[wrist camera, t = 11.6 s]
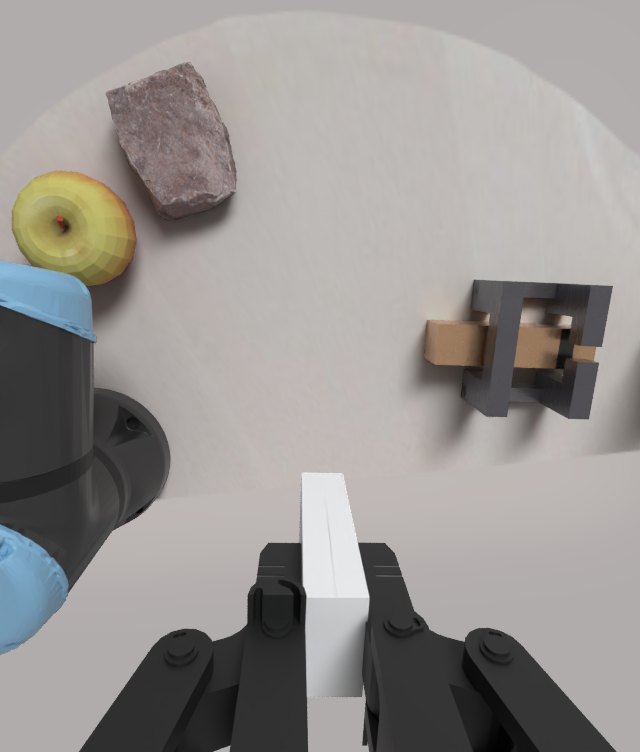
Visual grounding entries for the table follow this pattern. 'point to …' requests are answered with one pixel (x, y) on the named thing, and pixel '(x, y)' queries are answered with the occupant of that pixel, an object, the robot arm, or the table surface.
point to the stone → (175, 141)
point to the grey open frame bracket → (505, 308)
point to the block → (469, 342)
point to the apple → (74, 227)
